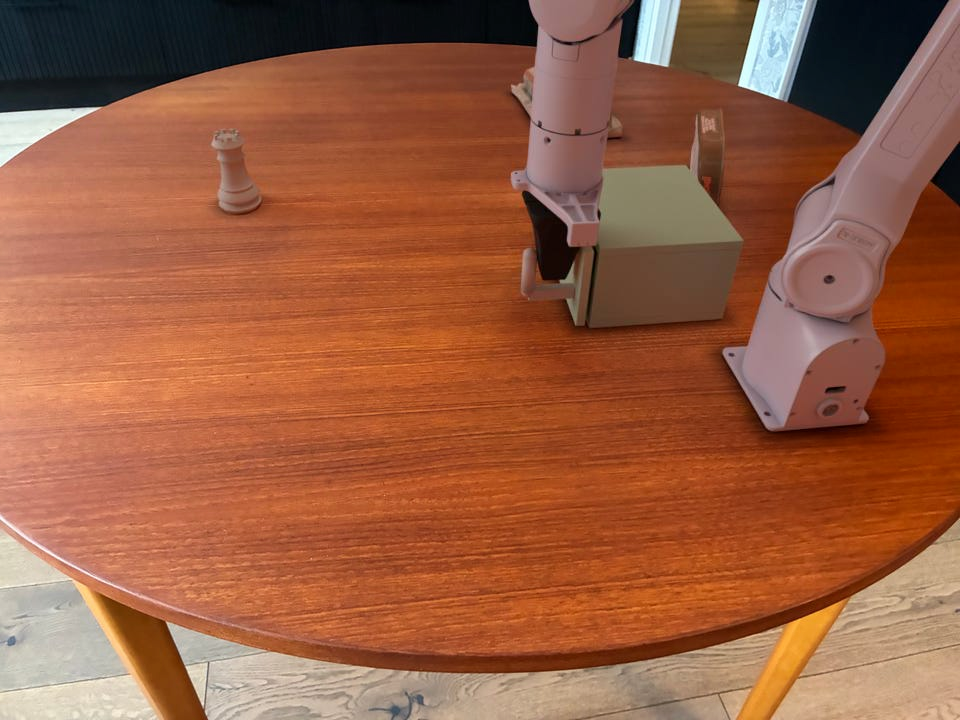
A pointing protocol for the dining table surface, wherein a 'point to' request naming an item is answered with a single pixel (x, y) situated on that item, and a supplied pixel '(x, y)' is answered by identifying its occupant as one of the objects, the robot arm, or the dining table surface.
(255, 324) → the dining table surface
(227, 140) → the rook chess piece
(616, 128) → the packaged product
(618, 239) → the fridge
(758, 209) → the dining table surface
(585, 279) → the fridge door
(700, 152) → the tin
